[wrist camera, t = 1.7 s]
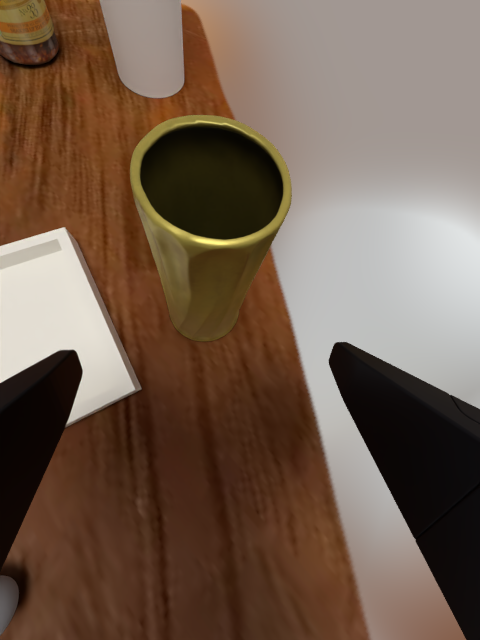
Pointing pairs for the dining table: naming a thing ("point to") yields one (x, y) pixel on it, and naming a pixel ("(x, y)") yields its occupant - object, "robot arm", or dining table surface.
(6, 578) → the mixing ball
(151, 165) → the vase
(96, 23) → the dining table surface
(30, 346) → the tray
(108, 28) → the cylindrical container
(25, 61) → the sauce bottle
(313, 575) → the dining table surface
